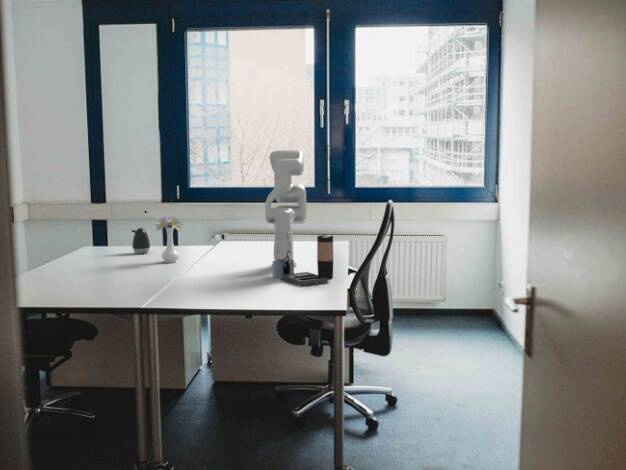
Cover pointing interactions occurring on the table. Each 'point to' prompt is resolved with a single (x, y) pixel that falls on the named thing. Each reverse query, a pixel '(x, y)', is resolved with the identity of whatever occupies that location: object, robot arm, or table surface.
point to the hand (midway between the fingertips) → (283, 272)
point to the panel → (281, 268)
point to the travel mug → (325, 256)
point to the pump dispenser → (140, 241)
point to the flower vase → (169, 237)
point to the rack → (305, 279)
